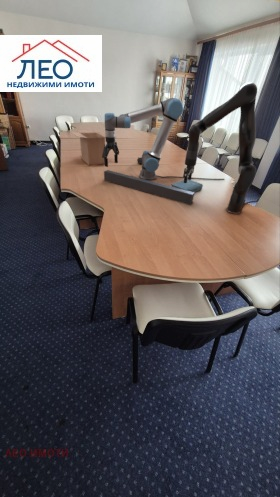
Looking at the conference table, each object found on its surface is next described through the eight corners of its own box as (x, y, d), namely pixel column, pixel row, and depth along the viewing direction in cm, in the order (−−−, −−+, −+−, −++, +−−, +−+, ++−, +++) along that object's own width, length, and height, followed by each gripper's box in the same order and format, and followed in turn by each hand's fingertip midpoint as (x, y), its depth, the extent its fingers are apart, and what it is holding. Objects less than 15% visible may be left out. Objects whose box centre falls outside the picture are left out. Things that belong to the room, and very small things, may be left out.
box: (116, 165, 229) (116, 136, 213) (83, 168, 214) (80, 137, 198) (102, 154, 259) (101, 128, 243) (71, 156, 244) (68, 129, 228)
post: (104, 180, 192) (104, 171, 187) (107, 178, 196) (107, 169, 191) (190, 204, 163) (192, 194, 158) (192, 202, 166) (194, 192, 161)
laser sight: (156, 166, 234) (157, 157, 228) (136, 164, 237) (136, 154, 231) (158, 164, 241) (159, 154, 236) (138, 162, 244) (138, 152, 238)
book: (186, 184, 196) (187, 178, 193) (201, 190, 188) (203, 184, 185) (170, 190, 183) (171, 184, 180) (185, 196, 174) (187, 190, 171)
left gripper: (104, 139, 161) (105, 169, 173) (123, 134, 178) (123, 162, 191) (96, 138, 163) (98, 167, 176) (115, 133, 181) (116, 160, 194)
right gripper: (193, 160, 142) (188, 185, 151) (200, 156, 152) (195, 179, 161) (182, 158, 144) (178, 182, 154) (189, 154, 155) (185, 177, 164)
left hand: (111, 164), depth 184 cm, fingers open, 13 cm apart
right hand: (187, 181), depth 158 cm, fingers open, 8 cm apart
